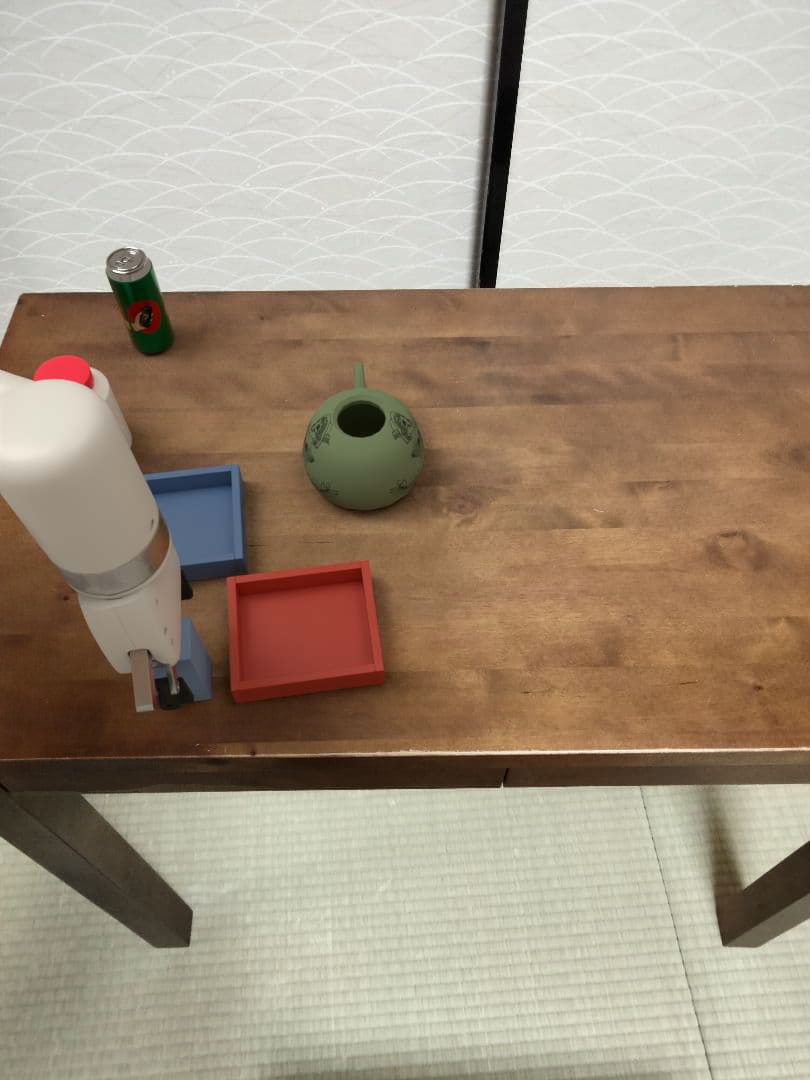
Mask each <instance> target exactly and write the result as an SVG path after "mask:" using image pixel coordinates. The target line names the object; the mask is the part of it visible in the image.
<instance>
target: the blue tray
mask: <svg viewBox="0 0 810 1080" xmlns="http://www.w3.org/2000/svg"><path fill="white" fill-rule="evenodd" d="M143 476H144V478H145V480H146V482H147V484H148V486H149V488H150V490H151V492H152V495H153V497H154V499H155V501H156V503H157V505H158V507H159V509H160V511H161V513H162V515H163V517H164V519H165V522H166V524H167V526H168V528H169V530H170V533H171V538H172V542H173V544H174V547H175V549H176V551H177V554H178V557H179V561H180V570H183V571H184V573H185V575H186V577H187V579H188V581H189V582H190V581H198V580H205V579H213V578H222V577H232V576H240V575H248V573H249V569H248V548H247V547H248V546H247V531H246V510H245V509H246V507H245V492H244V491H245V490H244V489H245V488H244V479H243V475H242V471H241V468H240V464H239V463H235V464H234V463H233V464H225V465H224V464H223V465H217V466H207V467H197V468H190V469H189V468H188V469H181V470H173V471H163V472H155V473H144V474H143Z"/></svg>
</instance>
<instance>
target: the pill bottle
mask: <svg viewBox="0 0 810 1080" xmlns="http://www.w3.org/2000/svg"><path fill="white" fill-rule="evenodd" d="M48 379H62V380H68V381H73V382H76V383H79V384H82V385H84V386H86V387H88V388H90V389H91V390H93V391H95V392H96V393H97V394H98V395H99V396H100V397H102V398H103V399H104V401H105V402H106V403H107V404H108V406H109V407H110V409H111V411H112V412H113V414H114V416H115V418H116V420H117V422H118V424H119V426H120V428H121V430H122V432H123V434H124V436H125V438H126V440H127V443H128V445H129V447H130V449H131V448H132V445H133V434H132V433H131V430H130V428H129V425H128V423H127V420H126V418H125V417H124V414H123V411H122V409H121V407H120V404H119V402H118V400H117V398H116V395H115V393H114V392H113V389H112V387H111V385H110V382H109V380H108V378H107V377H106V375H105V374H104V373H103V372H101V371H100V370H99V369H97V368H95V367H92V366H90V365H89V364H88V362H87V361H86V360H84V358H82V357H79V356H77V355H72V354H71V355H70V354H68V355H67V354H65V355H58V356H55V357H52V358H50V359H48V360H46V361H44V362H42V364H41V365H39V366H38V368H37V369H36V370H35V372H34V375H33V381H40V380H48Z"/></svg>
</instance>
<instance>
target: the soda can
mask: <svg viewBox="0 0 810 1080" xmlns="http://www.w3.org/2000/svg"><path fill="white" fill-rule="evenodd" d="M105 265H106V266H105V275H106V278H107V281H108V283H109V286H110V289H111V291H112V294H113V297H114V299H115V302H116V304H117V307H118V310H119V312H120V314H121V315H120V316H121V318H122V320H123V322H124V323H123V324H124V325H125V328H126V330H127V334H128V337H129V338H130V341H131V344H132V346H133V347H134V348H135V349H136V350H137V351H139V352H142V353H145V354H158V353H162V352H163V351H165V350H166V349H168V348H169V347H170V346H171V344H172V343H173V342H174V340H175V331H174V329H173V325H172V322H171V319H170V315H169V312H168V309H167V306H166V302H165V300H164V296H163V293H162V290H161V287H160V284H159V281H158V278H157V274H156V271H155V268H154V265H153V262H152V260H151V259H150V258H149V257H148V256H147V255H146V253H145V251H144V250H142V249H140V248H139V247H135V246H124V247H119V248H118V249H117V248H116V249H115V250H113V251H112V252H110V253H109V255H107V257H106V260H105Z"/></svg>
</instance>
